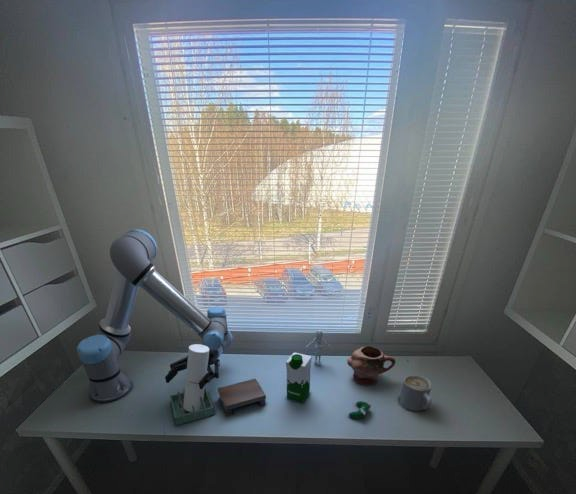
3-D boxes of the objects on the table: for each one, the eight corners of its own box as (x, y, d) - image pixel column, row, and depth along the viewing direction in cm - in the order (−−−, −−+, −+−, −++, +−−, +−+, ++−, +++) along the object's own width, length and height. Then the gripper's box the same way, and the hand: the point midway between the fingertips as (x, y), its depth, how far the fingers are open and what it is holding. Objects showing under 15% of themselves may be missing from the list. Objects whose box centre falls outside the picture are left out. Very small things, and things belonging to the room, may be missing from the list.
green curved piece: (353, 423, 121) (365, 418, 117) (347, 415, 121) (359, 410, 117) (362, 409, 128) (374, 404, 124) (356, 401, 127) (368, 396, 123)
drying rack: (171, 402, 129) (167, 388, 125) (206, 393, 133) (204, 379, 130) (176, 425, 118) (172, 410, 114) (214, 414, 123) (212, 400, 119)
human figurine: (329, 362, 152) (332, 328, 142) (330, 366, 149) (333, 332, 139) (304, 362, 152) (305, 328, 142) (304, 367, 149) (305, 332, 139)
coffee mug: (395, 395, 132) (399, 375, 126) (418, 393, 133) (423, 373, 127) (409, 418, 121) (415, 397, 115) (434, 415, 122) (441, 395, 116)
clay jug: (386, 370, 147) (392, 343, 139) (395, 386, 137) (401, 359, 129) (343, 371, 146) (346, 344, 138) (348, 387, 136) (351, 360, 128)
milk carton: (283, 399, 130) (283, 357, 119) (293, 386, 137) (293, 346, 126) (304, 405, 127) (305, 363, 116) (312, 392, 134) (314, 351, 123)
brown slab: (219, 397, 131) (217, 388, 128) (256, 387, 136) (255, 378, 134) (226, 416, 122) (225, 406, 119) (266, 405, 127) (265, 395, 124)
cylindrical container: (196, 414, 121) (203, 354, 111) (179, 408, 122) (184, 348, 112) (205, 405, 128) (212, 347, 118) (189, 399, 129) (195, 342, 118)
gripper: (239, 365, 132) (216, 396, 116) (185, 356, 138) (155, 385, 121) (237, 349, 128) (213, 380, 111) (181, 341, 134) (150, 369, 117)
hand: (183, 383), depth 116 cm, fingers open, 13 cm apart
